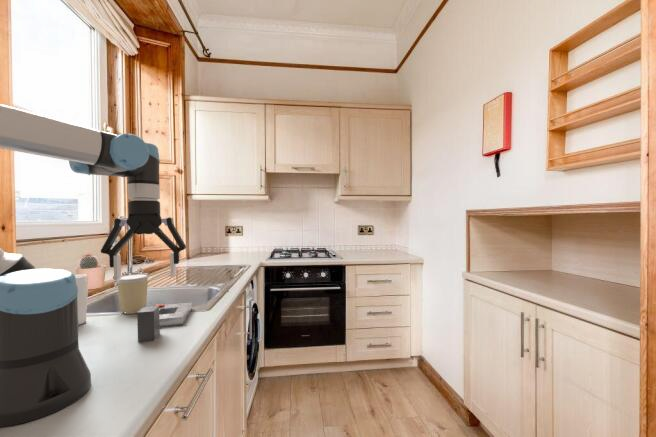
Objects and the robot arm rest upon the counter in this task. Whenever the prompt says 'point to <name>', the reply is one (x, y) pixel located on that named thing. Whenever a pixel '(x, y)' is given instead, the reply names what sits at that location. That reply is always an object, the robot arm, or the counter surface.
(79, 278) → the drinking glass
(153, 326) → the plug
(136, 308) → the coffee cup
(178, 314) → the socket plate
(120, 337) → the counter surface
